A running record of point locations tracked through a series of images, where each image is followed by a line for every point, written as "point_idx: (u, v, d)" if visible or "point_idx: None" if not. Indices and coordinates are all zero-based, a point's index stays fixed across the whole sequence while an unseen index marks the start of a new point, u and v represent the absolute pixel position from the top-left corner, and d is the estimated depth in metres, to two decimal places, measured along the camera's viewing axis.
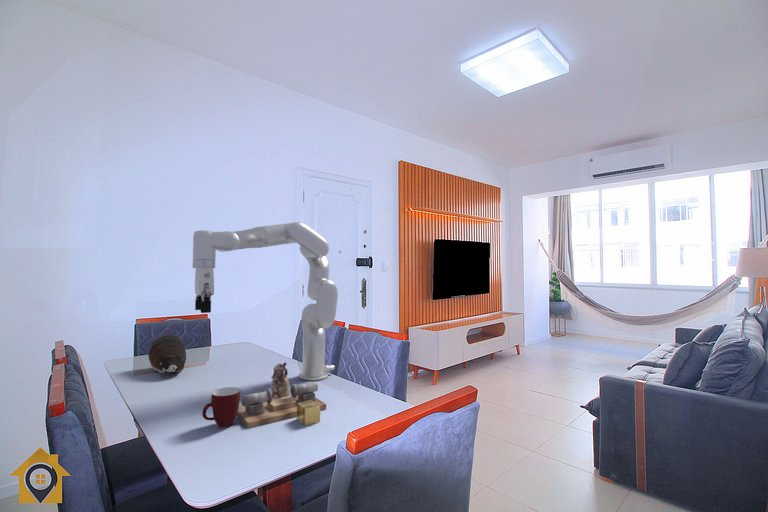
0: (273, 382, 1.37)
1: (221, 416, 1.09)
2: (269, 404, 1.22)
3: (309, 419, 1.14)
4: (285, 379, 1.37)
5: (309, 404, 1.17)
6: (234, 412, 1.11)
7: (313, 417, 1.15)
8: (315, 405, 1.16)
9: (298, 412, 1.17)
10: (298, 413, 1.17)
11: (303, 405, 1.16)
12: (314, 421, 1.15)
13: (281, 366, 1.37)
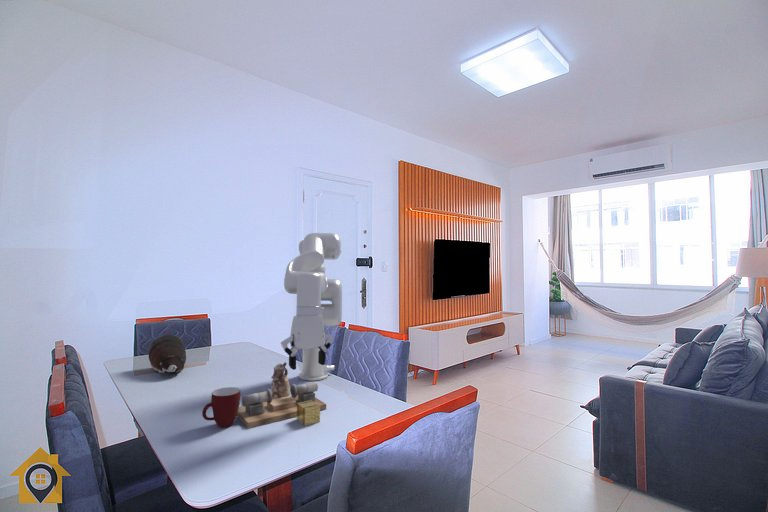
0: (273, 382, 1.37)
1: (221, 416, 1.09)
2: (269, 404, 1.22)
3: (309, 419, 1.14)
4: (285, 379, 1.37)
5: (309, 404, 1.17)
6: (234, 412, 1.11)
7: (313, 417, 1.15)
8: (315, 405, 1.16)
9: (298, 412, 1.17)
10: (298, 413, 1.17)
11: (303, 405, 1.16)
12: (314, 421, 1.15)
13: (281, 366, 1.37)
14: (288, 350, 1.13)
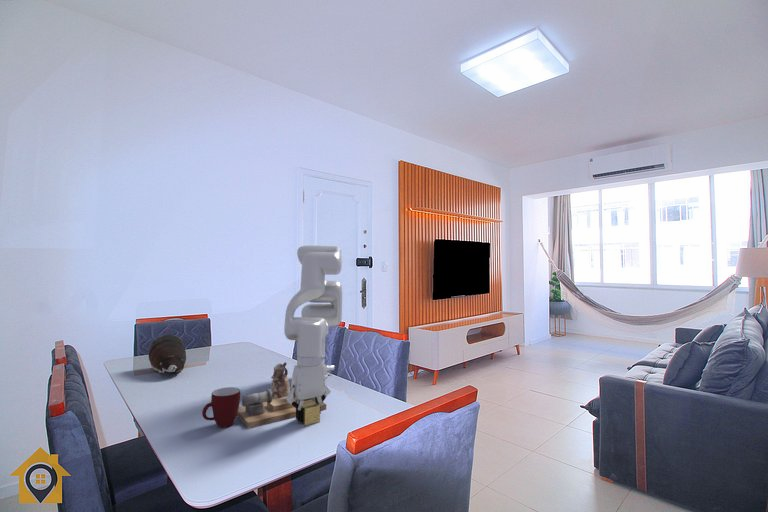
0: (273, 382, 1.37)
1: (221, 416, 1.09)
2: (269, 404, 1.22)
3: (309, 419, 1.14)
4: (285, 379, 1.37)
5: (309, 404, 1.17)
6: (234, 412, 1.11)
7: (313, 417, 1.15)
8: (315, 405, 1.16)
9: None
10: None
11: (303, 405, 1.16)
12: (314, 421, 1.15)
13: (281, 366, 1.37)
14: (295, 404, 1.13)
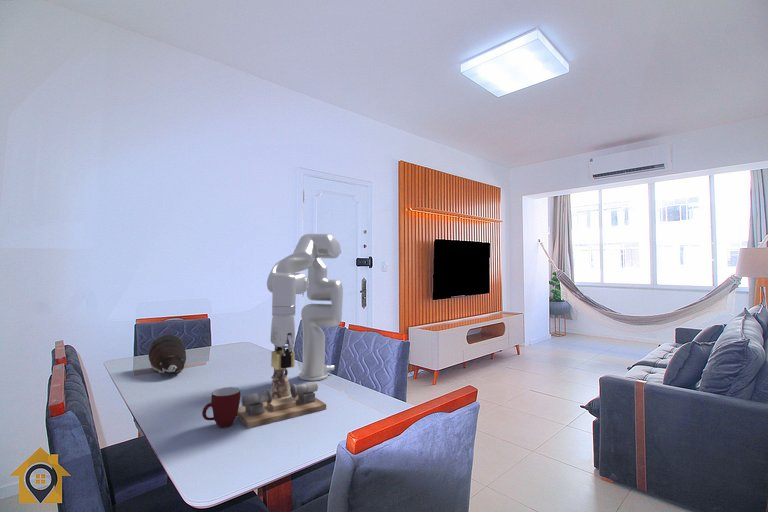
0: (273, 382, 1.37)
1: (221, 416, 1.09)
2: (269, 404, 1.22)
3: None
4: (285, 379, 1.37)
5: None
6: (234, 412, 1.11)
7: None
8: None
9: (280, 361, 1.21)
10: (280, 362, 1.21)
11: None
12: None
13: None
14: None
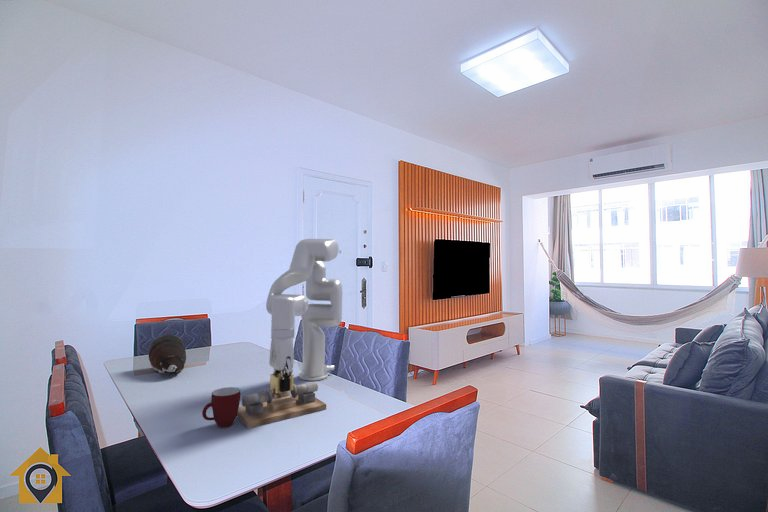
0: None
1: (221, 416, 1.09)
2: (269, 404, 1.22)
3: None
4: None
5: None
6: (234, 412, 1.11)
7: None
8: None
9: (279, 384, 1.21)
10: (279, 385, 1.21)
11: None
12: None
13: None
14: None
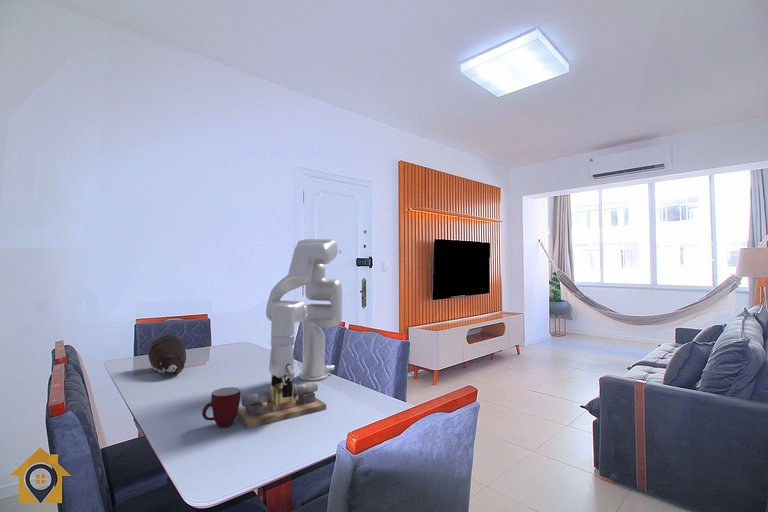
0: None
1: (221, 416, 1.09)
2: (269, 404, 1.22)
3: None
4: None
5: (282, 385, 1.25)
6: (234, 412, 1.11)
7: None
8: None
9: (279, 396, 1.21)
10: (279, 397, 1.21)
11: None
12: None
13: None
14: None
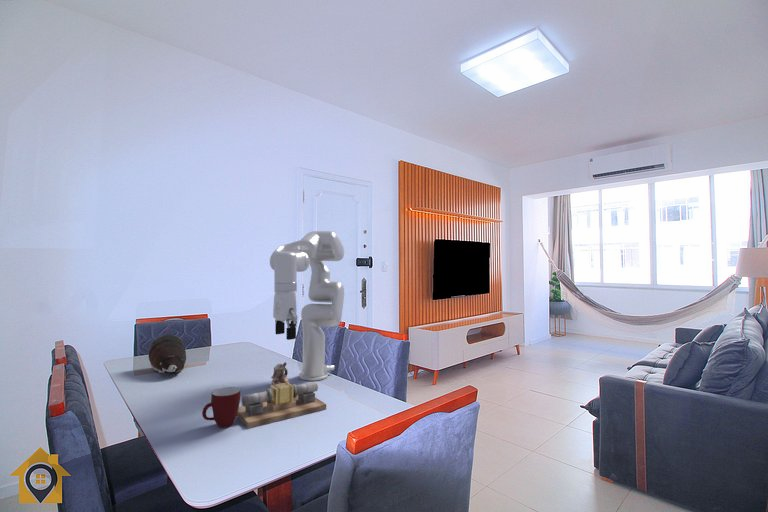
0: (273, 382, 1.37)
1: (221, 416, 1.09)
2: (269, 404, 1.22)
3: None
4: (285, 379, 1.37)
5: (282, 385, 1.25)
6: (234, 412, 1.11)
7: None
8: (286, 383, 1.27)
9: (279, 396, 1.21)
10: (279, 397, 1.21)
11: (284, 387, 1.23)
12: None
13: (281, 366, 1.37)
14: None
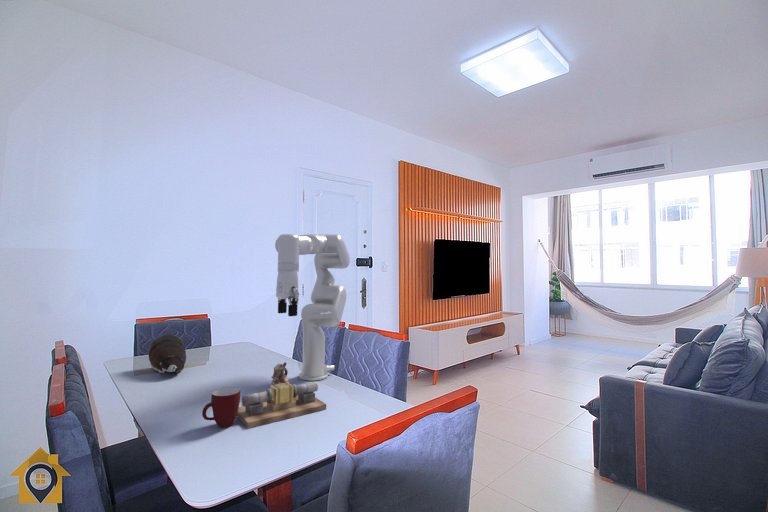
0: (273, 382, 1.37)
1: (221, 416, 1.09)
2: (269, 404, 1.22)
3: None
4: (285, 379, 1.37)
5: (282, 385, 1.25)
6: (234, 412, 1.11)
7: None
8: (286, 383, 1.27)
9: (279, 396, 1.21)
10: (279, 397, 1.21)
11: (284, 387, 1.23)
12: None
13: (281, 366, 1.37)
14: None
